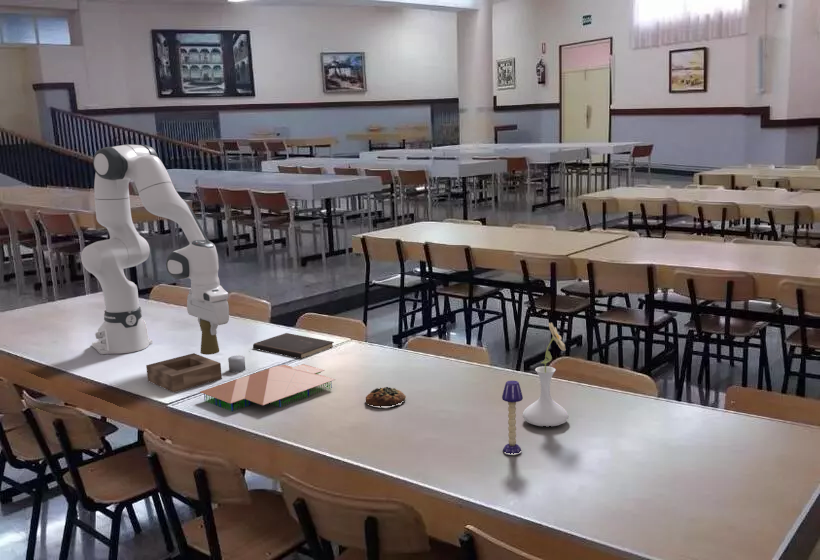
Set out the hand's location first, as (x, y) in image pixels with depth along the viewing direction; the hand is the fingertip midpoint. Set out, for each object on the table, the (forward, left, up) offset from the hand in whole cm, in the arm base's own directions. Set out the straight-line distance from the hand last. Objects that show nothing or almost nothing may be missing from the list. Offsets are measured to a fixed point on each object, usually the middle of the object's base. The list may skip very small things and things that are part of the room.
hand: (208, 332), depth 253 cm
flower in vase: (+112, +29, -10) cm, 116 cm away
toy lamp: (+117, +9, -10) cm, 117 cm away
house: (+41, -4, -11) cm, 42 cm away
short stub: (+14, +1, -10) cm, 17 cm away
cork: (0, 0, -7) cm, 7 cm away
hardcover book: (+8, +27, -11) cm, 30 cm away
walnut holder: (+10, -15, -10) cm, 20 cm away
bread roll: (+70, +12, -10) cm, 72 cm away
